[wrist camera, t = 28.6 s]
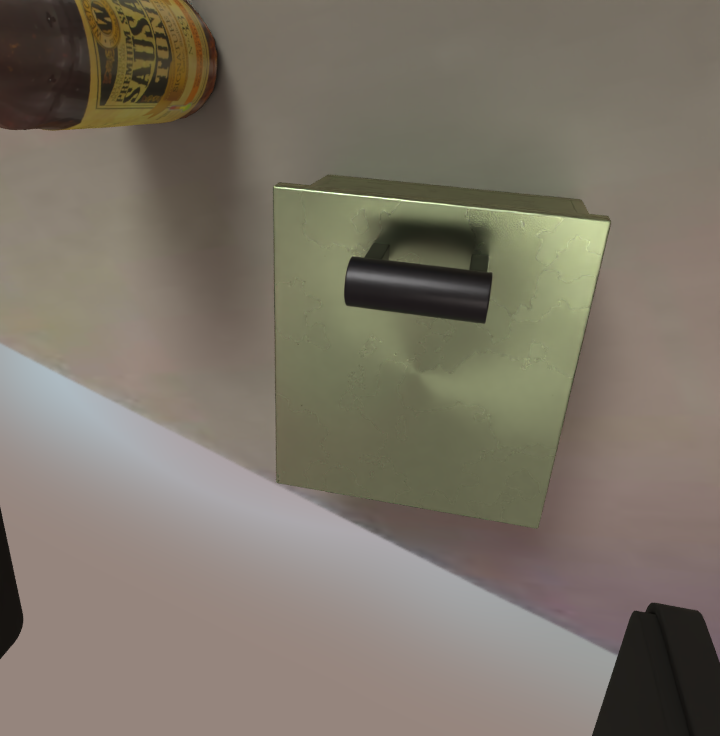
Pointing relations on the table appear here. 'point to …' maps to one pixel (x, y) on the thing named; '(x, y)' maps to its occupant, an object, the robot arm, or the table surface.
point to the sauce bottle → (102, 63)
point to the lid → (427, 346)
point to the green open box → (453, 193)
